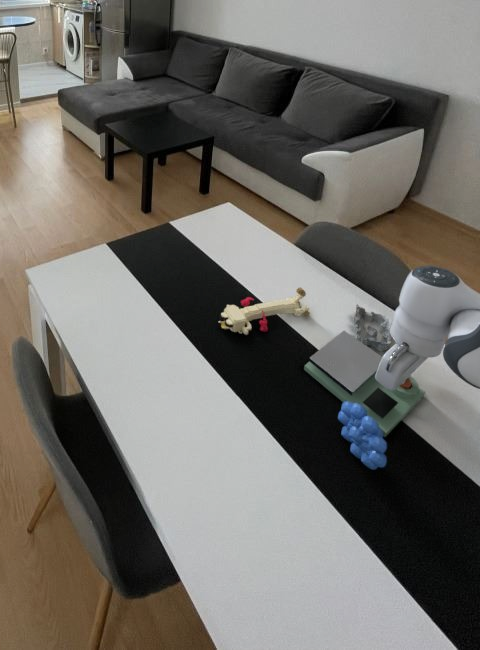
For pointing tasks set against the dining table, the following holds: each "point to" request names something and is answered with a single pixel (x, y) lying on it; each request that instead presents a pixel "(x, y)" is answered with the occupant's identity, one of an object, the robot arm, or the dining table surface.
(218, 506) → the dining table surface
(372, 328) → the egg carton
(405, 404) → the scale
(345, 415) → the grapes
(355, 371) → the scale pan
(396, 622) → the dining table surface
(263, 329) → the beige blocky toy
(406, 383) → the button
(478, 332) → the robot arm
